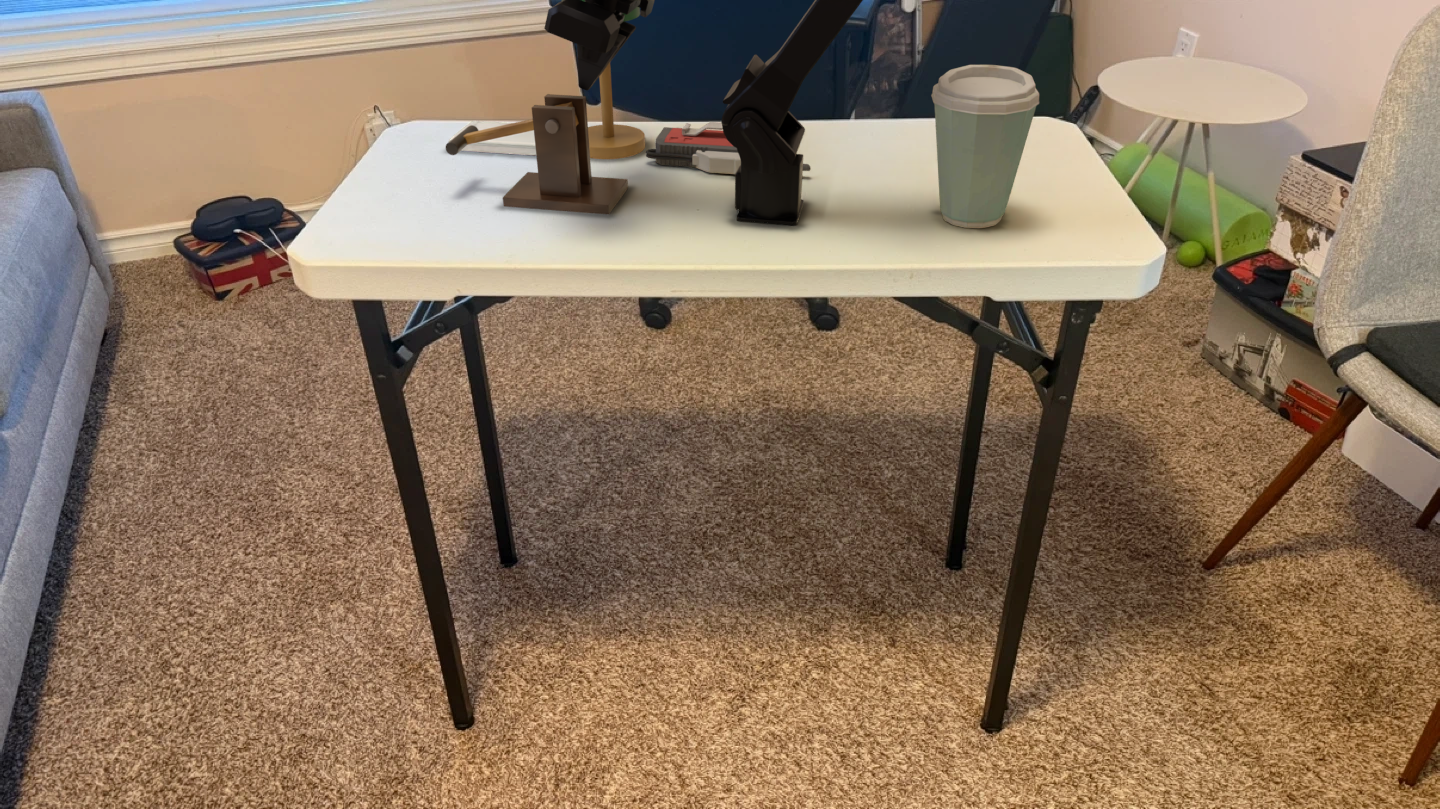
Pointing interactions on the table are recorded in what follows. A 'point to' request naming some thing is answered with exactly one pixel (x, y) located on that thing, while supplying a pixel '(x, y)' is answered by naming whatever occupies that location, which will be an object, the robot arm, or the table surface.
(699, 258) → the table surface
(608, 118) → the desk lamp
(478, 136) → the switch lever
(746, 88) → the robot arm
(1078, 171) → the table surface
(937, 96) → the disposable coffee cup
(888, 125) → the table surface
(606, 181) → the switch bracket
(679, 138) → the red boxy piece
